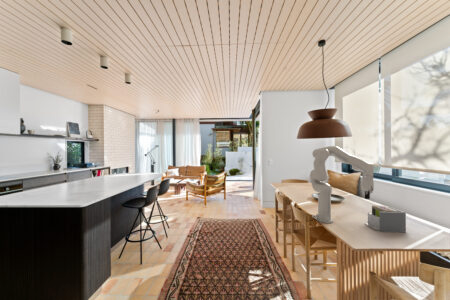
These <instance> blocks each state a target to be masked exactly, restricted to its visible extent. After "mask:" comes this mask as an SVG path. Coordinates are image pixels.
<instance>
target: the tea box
mask: <svg viewBox="0 0 450 300" xmlns="http://www.w3.org/2000/svg"><path fill="white" fill-rule="evenodd" d="M389 207H390V206H386V205H375V204H374V205H371V214H373V215H375V216H377V217H380V216H379V212H399V211H398V210H399V209H397V210H395V209H396V208H395V209H392V208H393V207H392V208H389Z"/></svg>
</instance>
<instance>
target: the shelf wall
mask: <svg viewBox="0 0 450 300" xmlns="http://www.w3.org/2000/svg"><path fill="white" fill-rule="evenodd" d="M388 207H389V208H392V209H395V210H398V211H399V212H379V216H380V231H379V232H386V233H389V232H390V233H406V232H407V219H406V218H407V214H406V211H402V210H400V209H397V208H394V207H392V206H388Z"/></svg>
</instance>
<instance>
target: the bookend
mask: <svg viewBox="0 0 450 300" xmlns="http://www.w3.org/2000/svg"><path fill="white" fill-rule="evenodd" d="M364 225H365V226H366V227H369V228H370V229H372V230H374V231H375V232H376V231H377V232H381V231H380V217H377V216H375V215H373V214H372V212H367V223H366V222H365V223H364Z"/></svg>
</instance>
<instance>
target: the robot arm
mask: <svg viewBox="0 0 450 300" xmlns="http://www.w3.org/2000/svg"><path fill="white" fill-rule="evenodd" d="M311 153H312V157H313V158H314V161H313V169H312V170H311V171H310V173H309V178H310V183H311V187H312V189H313V191H315V192H317V193H319V194H318V196H317V211H318V212H317V213H316V215H315V214H312V215H311V217H312V218H314V219H316V221H318V222H320V223H325V224H331V223H333V222H334V219H333V218H332V202H331V201H332V199H331V198H332V197H331V196H332V192H333V188H332V186H331V184H330V183H327V182H326V181H327V180H328V174H327V169H326V161H327V159H328V158H329V157H330V156H331V157H334V158H335V159H337V160H339V161H340V162H341V163H344V164H347V165H351V168H352V170H353V171H356V172H361V173H362V177H361V181H360V189H361V190H362V191H363V193H364V199H365V200H370V198H371V196H370V195H371V194H373V192H374V189H375V185H374V169H375V167H374V163H371V162H367V161H366V160H364V159H362V158H360V157H357V156H356V155H352V154H350V153H348V152H347V151H345V150H344V149H342V148H340V146H336V145H334V146H333V145H331V146H325V147H321V148H317V149H316V148H315V149H314V150H313V151H312V152H311Z"/></svg>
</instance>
